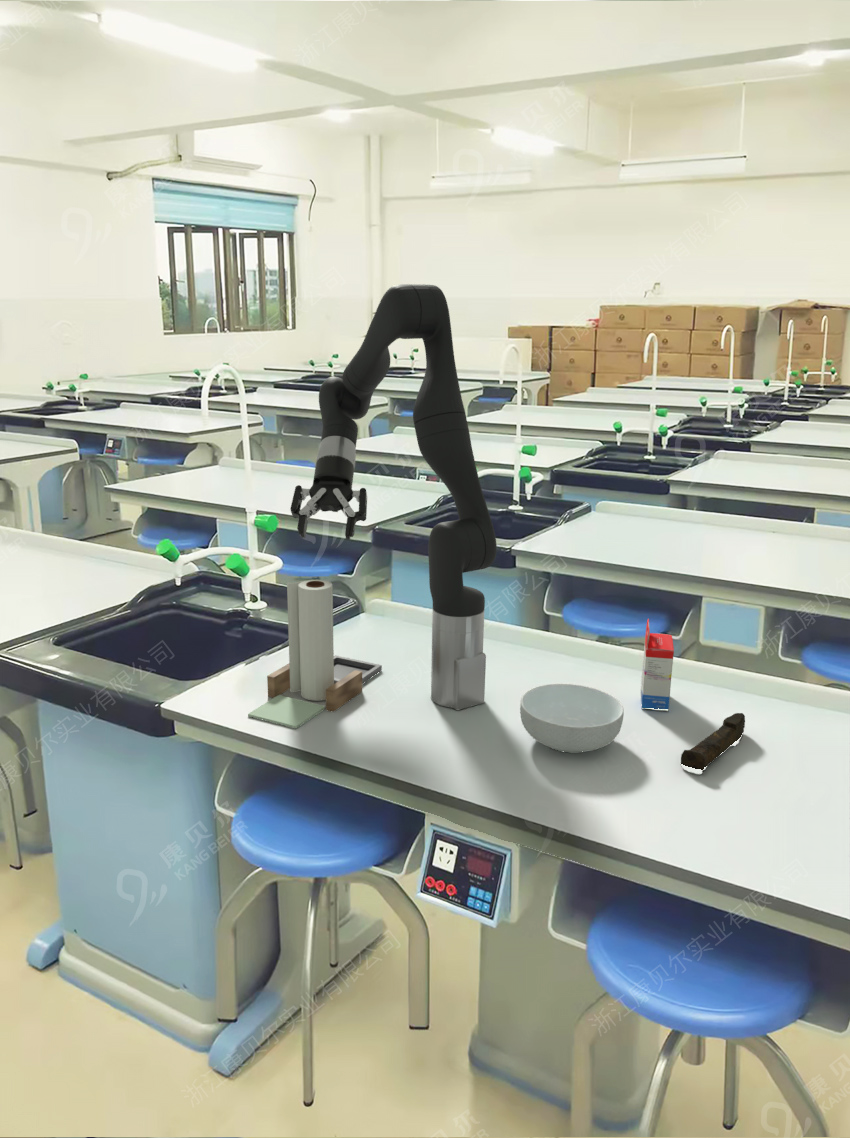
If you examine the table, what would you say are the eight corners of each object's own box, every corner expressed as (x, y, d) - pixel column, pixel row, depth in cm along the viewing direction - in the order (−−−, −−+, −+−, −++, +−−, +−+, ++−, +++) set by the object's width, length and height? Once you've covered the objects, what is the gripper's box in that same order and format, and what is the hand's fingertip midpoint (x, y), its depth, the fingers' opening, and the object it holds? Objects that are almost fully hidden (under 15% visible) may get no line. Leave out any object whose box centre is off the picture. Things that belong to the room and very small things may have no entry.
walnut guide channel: (299, 677, 177) (298, 657, 176) (362, 691, 171) (362, 671, 170) (267, 696, 168) (267, 675, 167) (333, 712, 162) (333, 691, 161)
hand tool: (701, 779, 142) (705, 752, 140) (678, 770, 144) (681, 743, 143) (757, 740, 155) (761, 715, 153) (735, 732, 157) (738, 707, 156)
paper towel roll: (340, 694, 169) (339, 583, 163) (315, 704, 165) (313, 590, 159) (315, 683, 174) (313, 575, 168) (290, 693, 170) (286, 581, 164)
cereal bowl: (598, 777, 141) (601, 735, 139) (501, 750, 150) (502, 710, 148) (635, 735, 155) (638, 696, 153) (544, 711, 164) (546, 675, 162)
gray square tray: (335, 660, 185) (335, 655, 184) (381, 670, 180) (381, 665, 180) (305, 679, 176) (305, 673, 175) (353, 690, 171) (353, 684, 171)
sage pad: (278, 697, 168) (278, 694, 168) (325, 708, 163) (325, 706, 163) (248, 716, 160) (248, 713, 160) (296, 728, 156) (296, 726, 156)
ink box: (669, 712, 164) (676, 635, 160) (640, 710, 165) (647, 632, 161) (666, 693, 172) (674, 619, 168) (639, 691, 173) (646, 616, 169)
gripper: (296, 452, 178) (284, 524, 170) (369, 455, 177) (360, 527, 169) (302, 474, 184) (291, 545, 177) (373, 477, 183) (364, 548, 176)
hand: (325, 536), depth 173 cm, fingers open, 8 cm apart
